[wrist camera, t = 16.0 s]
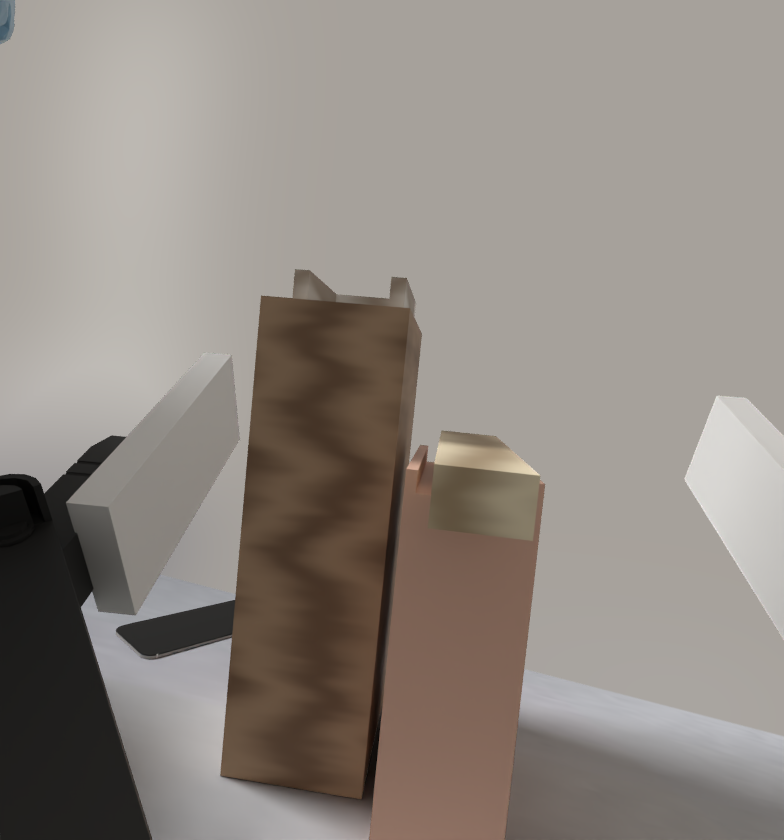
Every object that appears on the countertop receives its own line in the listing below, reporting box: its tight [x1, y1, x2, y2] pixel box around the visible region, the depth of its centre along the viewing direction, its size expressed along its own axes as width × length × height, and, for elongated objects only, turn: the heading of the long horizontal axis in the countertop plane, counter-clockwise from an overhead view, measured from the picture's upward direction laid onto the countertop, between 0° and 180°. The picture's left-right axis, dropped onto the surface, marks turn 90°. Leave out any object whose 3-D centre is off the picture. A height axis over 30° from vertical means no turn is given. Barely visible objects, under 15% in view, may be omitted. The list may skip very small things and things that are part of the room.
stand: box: [220, 269, 422, 799], centre depth 41 cm, size 9×14×32 cm, turn 174°
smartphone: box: [116, 600, 235, 659], centre depth 56 cm, size 7×1×15 cm
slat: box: [428, 431, 540, 541], centre depth 32 cm, size 4×20×2 cm, turn 174°
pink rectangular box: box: [369, 445, 545, 840], centre depth 36 cm, size 7×14×21 cm, turn 174°
